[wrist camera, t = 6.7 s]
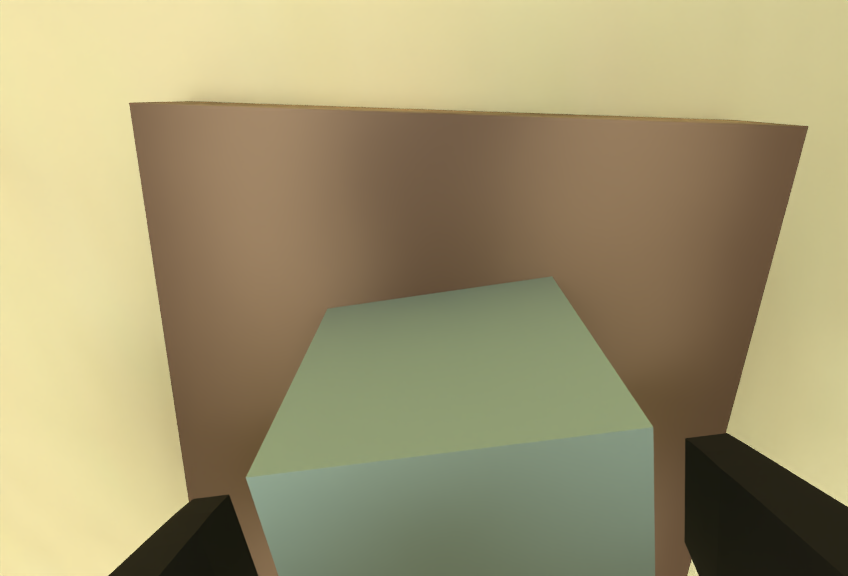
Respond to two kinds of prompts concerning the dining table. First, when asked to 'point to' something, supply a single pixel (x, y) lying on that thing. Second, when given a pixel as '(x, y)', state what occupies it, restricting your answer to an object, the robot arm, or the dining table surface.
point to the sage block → (458, 444)
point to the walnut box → (454, 254)
